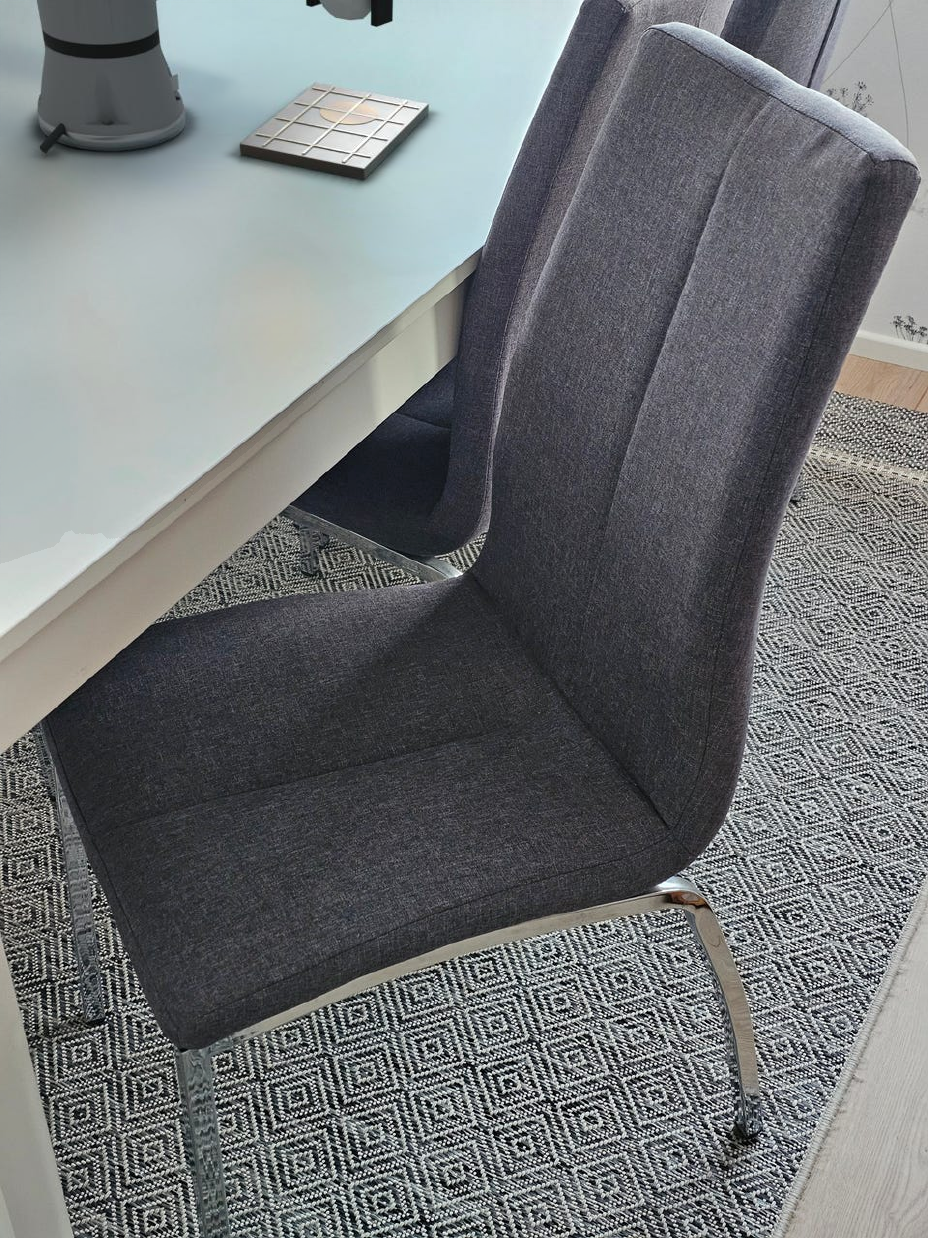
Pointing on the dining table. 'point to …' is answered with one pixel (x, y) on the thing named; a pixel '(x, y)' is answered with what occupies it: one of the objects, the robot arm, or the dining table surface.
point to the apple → (347, 8)
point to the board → (335, 130)
